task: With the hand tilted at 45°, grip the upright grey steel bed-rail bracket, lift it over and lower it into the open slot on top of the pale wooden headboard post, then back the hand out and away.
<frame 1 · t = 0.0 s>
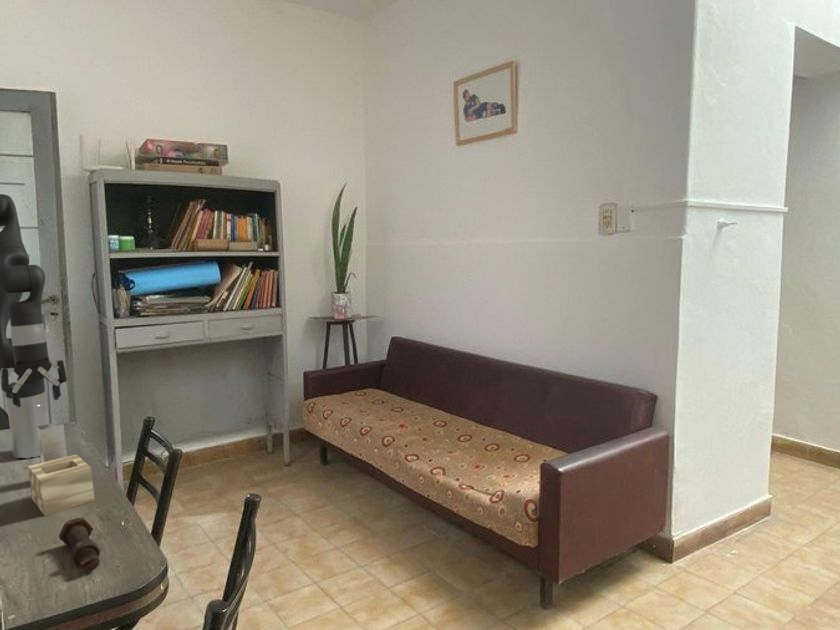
hand: (37, 403, 157), 17 cm above the table, tool pointing down, fingers open, 8 cm apart
bolt: (83, 559, 113), on the table
rail bracket: (56, 479, 150), on the table
headboard post: (63, 499, 138), on the table
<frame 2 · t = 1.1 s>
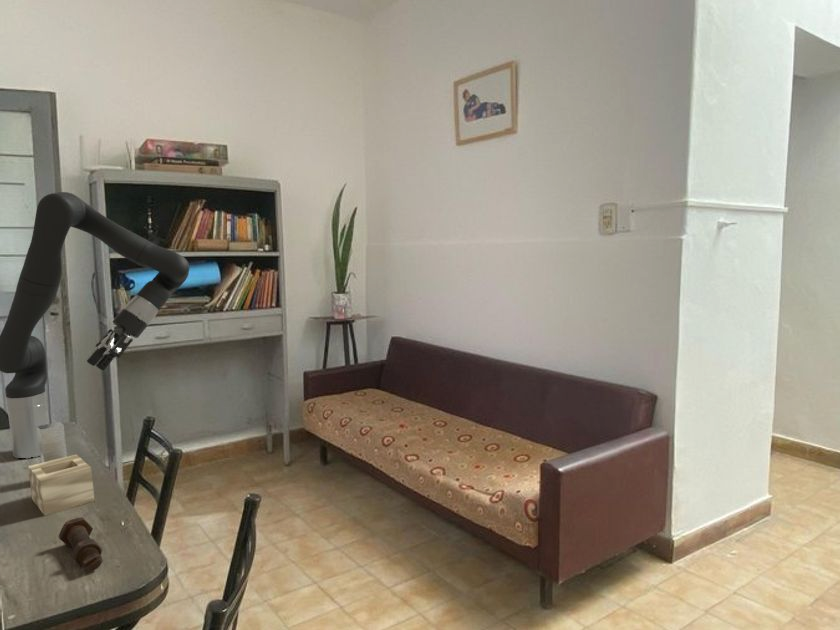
hand: (94, 366, 154), 27 cm above the table, tool tilted 45°, fingers open, 8 cm apart
nothing on the table moved.
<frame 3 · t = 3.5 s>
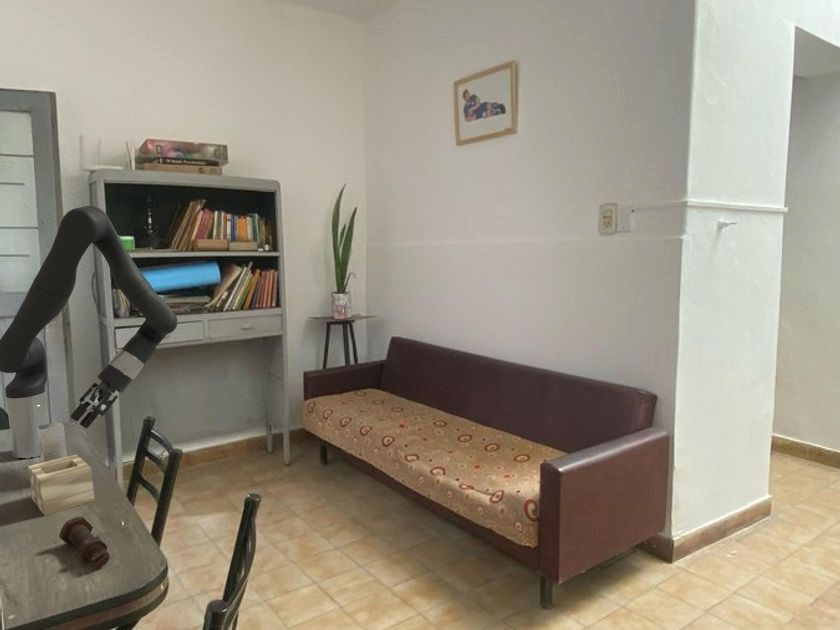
hand: (78, 422, 152), 13 cm above the table, tool tilted 45°, fingers open, 8 cm apart
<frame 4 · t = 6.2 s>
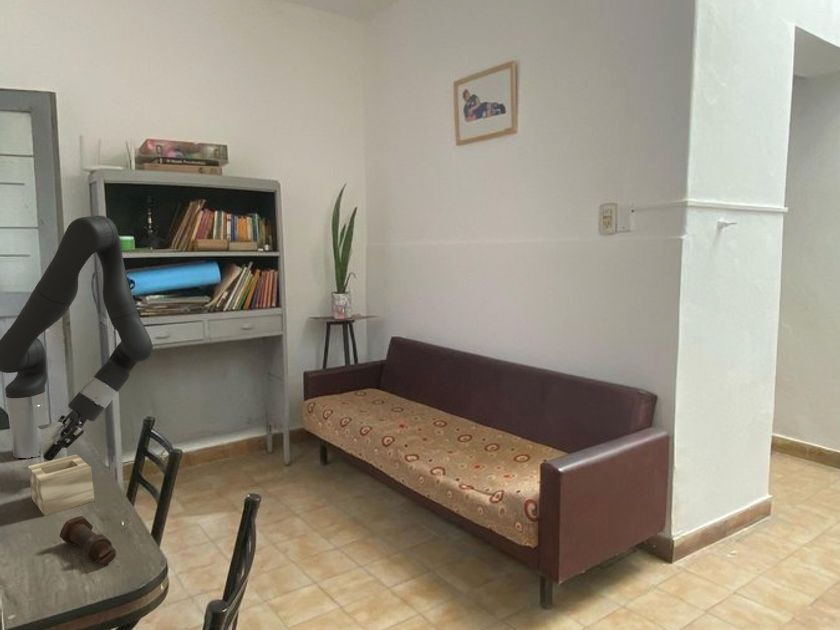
hand: (44, 456, 148), 6 cm above the table, tool tilted 45°, fingers closed on rail bracket, 3 cm apart
rail bracket: (56, 479, 150), on the table, touching gripper
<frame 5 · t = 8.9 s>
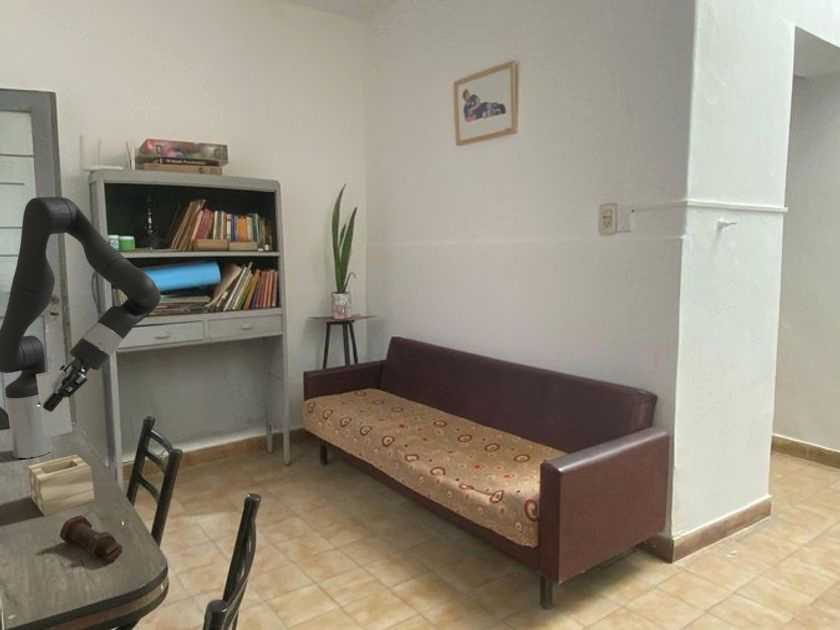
hand: (44, 407, 134), 22 cm above the table, tool tilted 45°, fingers closed on rail bracket, 3 cm apart
rail bracket: (58, 432, 137), point 16 cm above the table, touching gripper
when the fingers open (12 cm above the table, at t = 11.8 s): rail bracket drops 2 cm, resting on headboard post.
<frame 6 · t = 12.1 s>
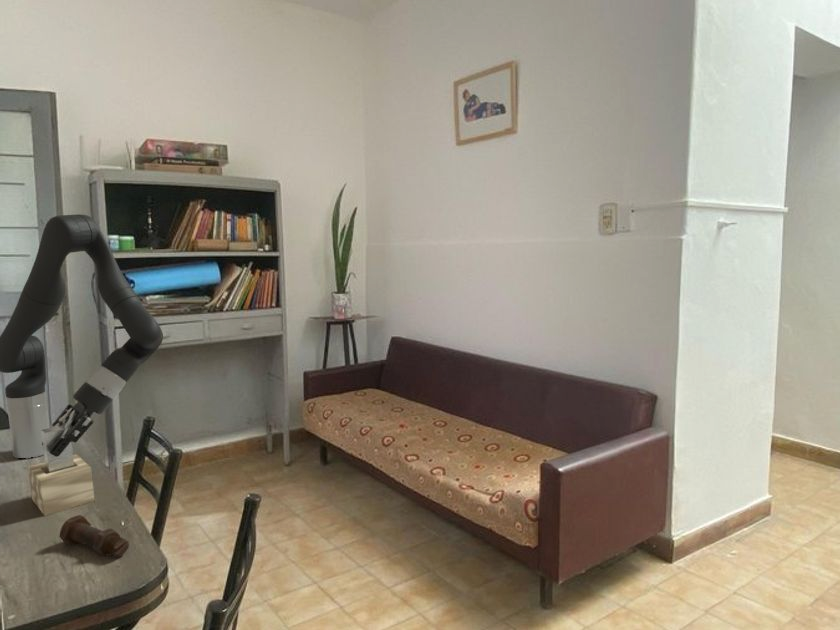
hand: (49, 450, 135), 12 cm above the table, tool tilted 45°, fingers open, 6 cm apart
rail bracket: (62, 487, 138), point 3 cm above the table, touching headboard post
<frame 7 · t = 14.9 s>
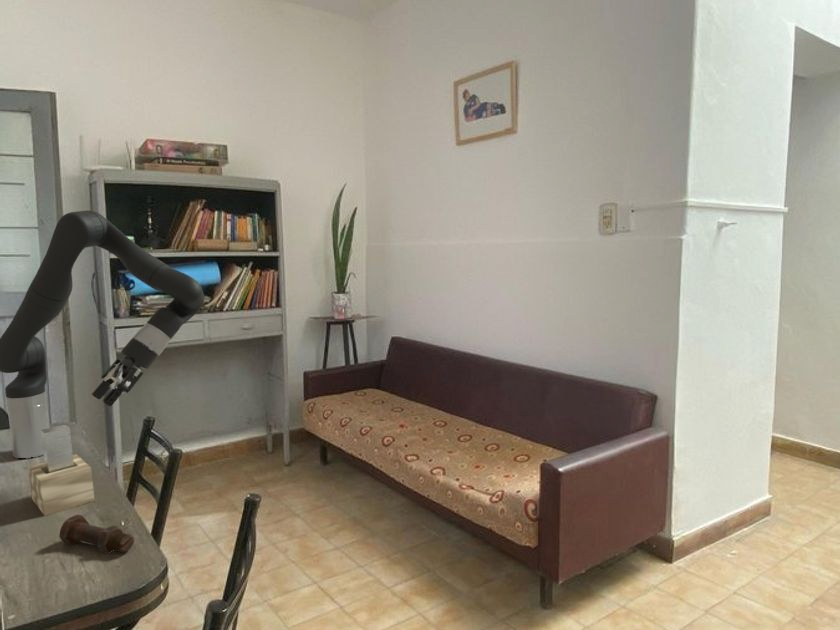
hand: (100, 400, 142), 21 cm above the table, tool tilted 45°, fingers open, 8 cm apart
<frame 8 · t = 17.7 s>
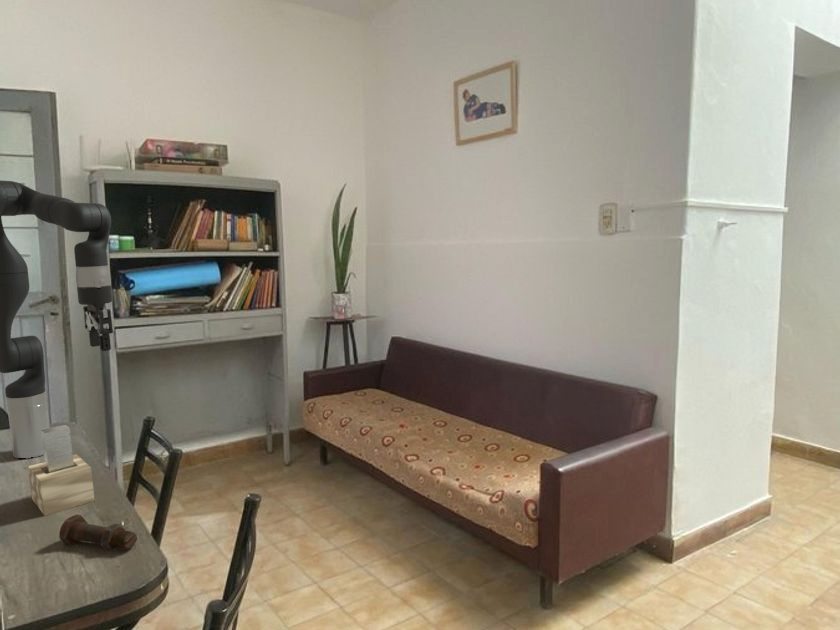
hand: (100, 348, 151), 32 cm above the table, tool pointing down, fingers open, 8 cm apart
at the end: rail bracket 0.1 cm off-centre on the headboard post, point 3.0 cm above the headboard post's base; rail bracket tilted 0°; the gripper is holding nothing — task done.
